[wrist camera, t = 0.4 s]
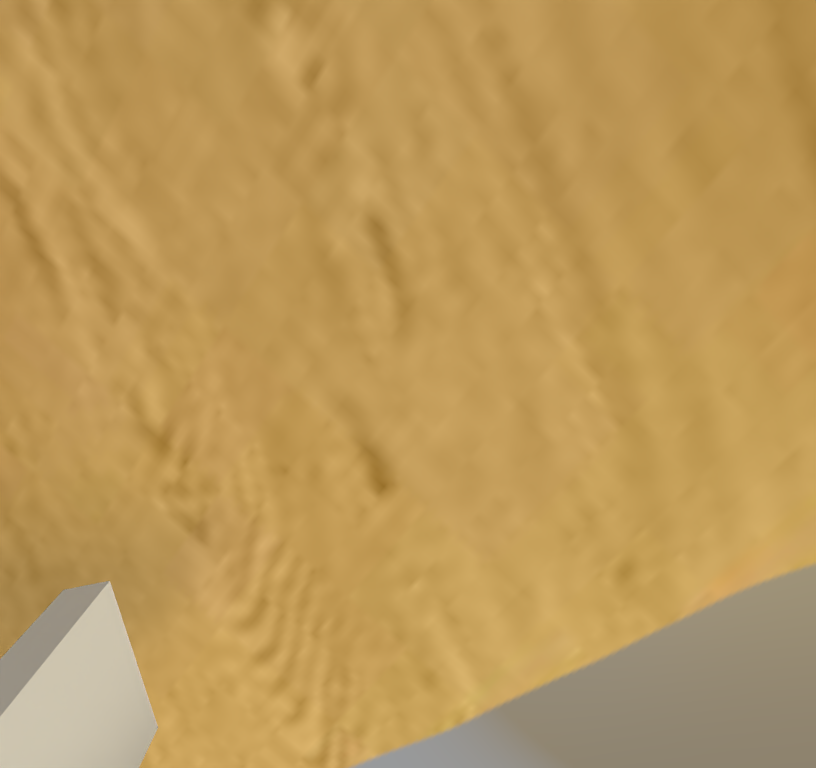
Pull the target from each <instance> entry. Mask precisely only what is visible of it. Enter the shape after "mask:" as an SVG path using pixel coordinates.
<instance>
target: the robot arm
mask: <svg viewBox="0 0 816 768" xmlns="http://www.w3.org/2000/svg"><path fill="white" fill-rule="evenodd" d="M157 728H158V726H157V723H156V720H155V717H154V714H153V711H152V708H151V705H150V702H149V699H148V696H147V693H146V690H145V686H144V683H143V680H142V677H141V674H140V671H139V668H138V665H137V662H136V659H135V656H134V653H133V650H132V647H131V644H130V641H129V638H128V635H127V632H126V629H125V626H124V623H123V620H122V617H121V614H120V611H119V607H118V604H117V601H116V598H115V595H114V592H113V589H112V586H111V583H110V581H106V582H101V583H96V584H91V585H86V586H81V587H76V588H71V589H66V590H63V591H62V592H61V593H60V594H59V595H58V597H57V598H56V599H55V600H54V601H53V602H52V603H51V604H50V605H49V606H48V608H47V609H46V610H45V611H44V612H43V613H42V614H41V615H40V616H39V617H38V618H37V620H36V621H35V622H34V623H33V624H32V625H31V626H30V627H29V628H28V629H27V631H26V632H25V633H24V634H23V635H22V636H21V637H20V638H19V639H18V640H17V641H16V643H15V644H14V645H13V646H12V647H11V648H10V649H9V650H8V651H7V652H6V654H5V655H4V656H3V657H2V658H1V659H0V768H139V766H140V764H141V762H142V760H143V758H144V756H145V754H146V752H147V750H148V747H149V745H150V743H151V741H152V739H153V737H154V735H155V733H156V731H157Z"/></svg>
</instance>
